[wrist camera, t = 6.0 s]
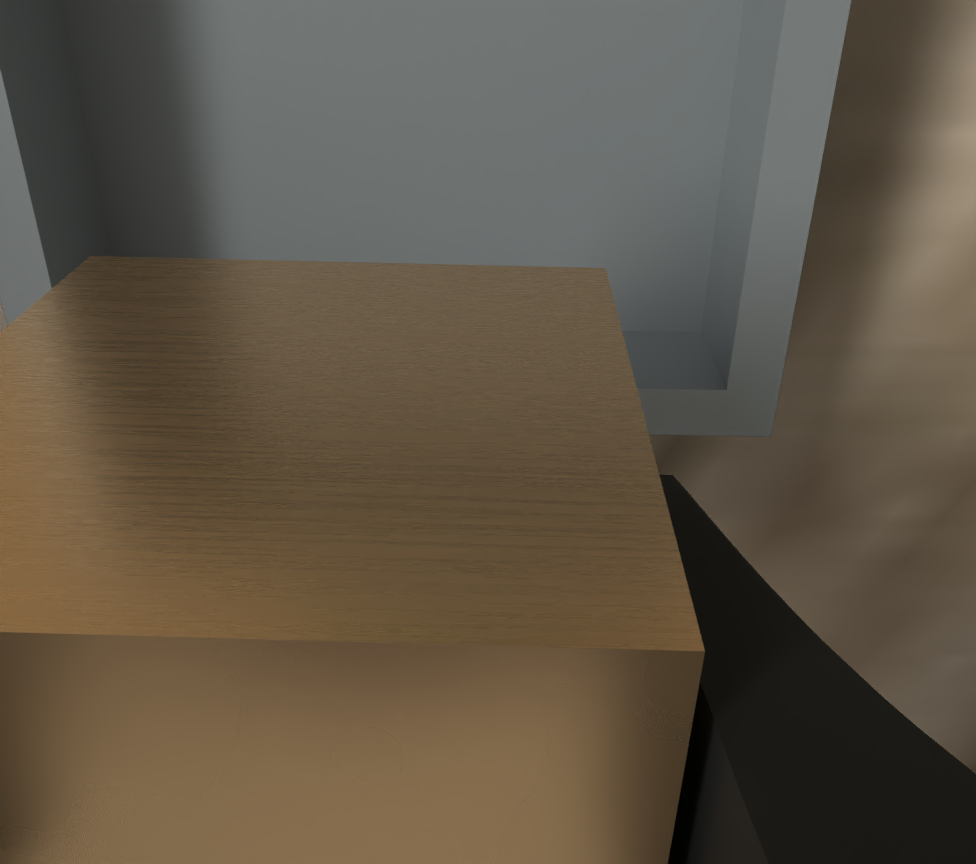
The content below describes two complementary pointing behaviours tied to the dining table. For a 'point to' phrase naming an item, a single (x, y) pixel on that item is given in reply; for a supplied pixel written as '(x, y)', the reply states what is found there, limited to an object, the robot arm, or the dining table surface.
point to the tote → (443, 155)
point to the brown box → (335, 571)
